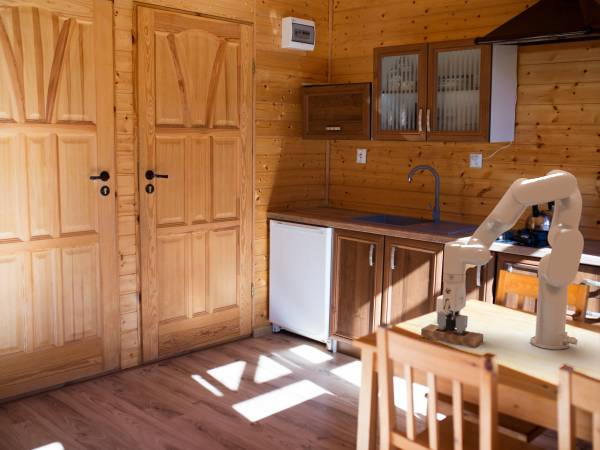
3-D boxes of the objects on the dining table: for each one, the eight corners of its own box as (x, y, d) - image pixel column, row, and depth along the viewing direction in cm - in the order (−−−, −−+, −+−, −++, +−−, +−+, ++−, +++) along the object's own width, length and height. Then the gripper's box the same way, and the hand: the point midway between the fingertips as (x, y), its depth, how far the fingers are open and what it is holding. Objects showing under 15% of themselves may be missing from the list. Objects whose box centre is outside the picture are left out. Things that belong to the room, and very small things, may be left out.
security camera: (443, 319, 269) (444, 294, 267) (460, 322, 264) (461, 297, 263) (435, 322, 264) (436, 297, 262) (452, 326, 259) (453, 300, 258)
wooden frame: (483, 342, 240) (483, 334, 240) (474, 348, 234) (475, 339, 234) (430, 332, 252) (430, 324, 251) (421, 337, 246) (421, 328, 245)
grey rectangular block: (466, 338, 241) (467, 316, 240) (463, 340, 239) (464, 318, 238) (440, 332, 247) (441, 311, 246) (436, 334, 245) (437, 312, 244)
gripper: (454, 283, 231) (452, 336, 234) (473, 274, 244) (471, 325, 247) (434, 280, 235) (432, 332, 238) (453, 272, 248) (452, 321, 251)
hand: (452, 328), depth 242 cm, fingers closed on grey rectangular block, 2 cm apart
